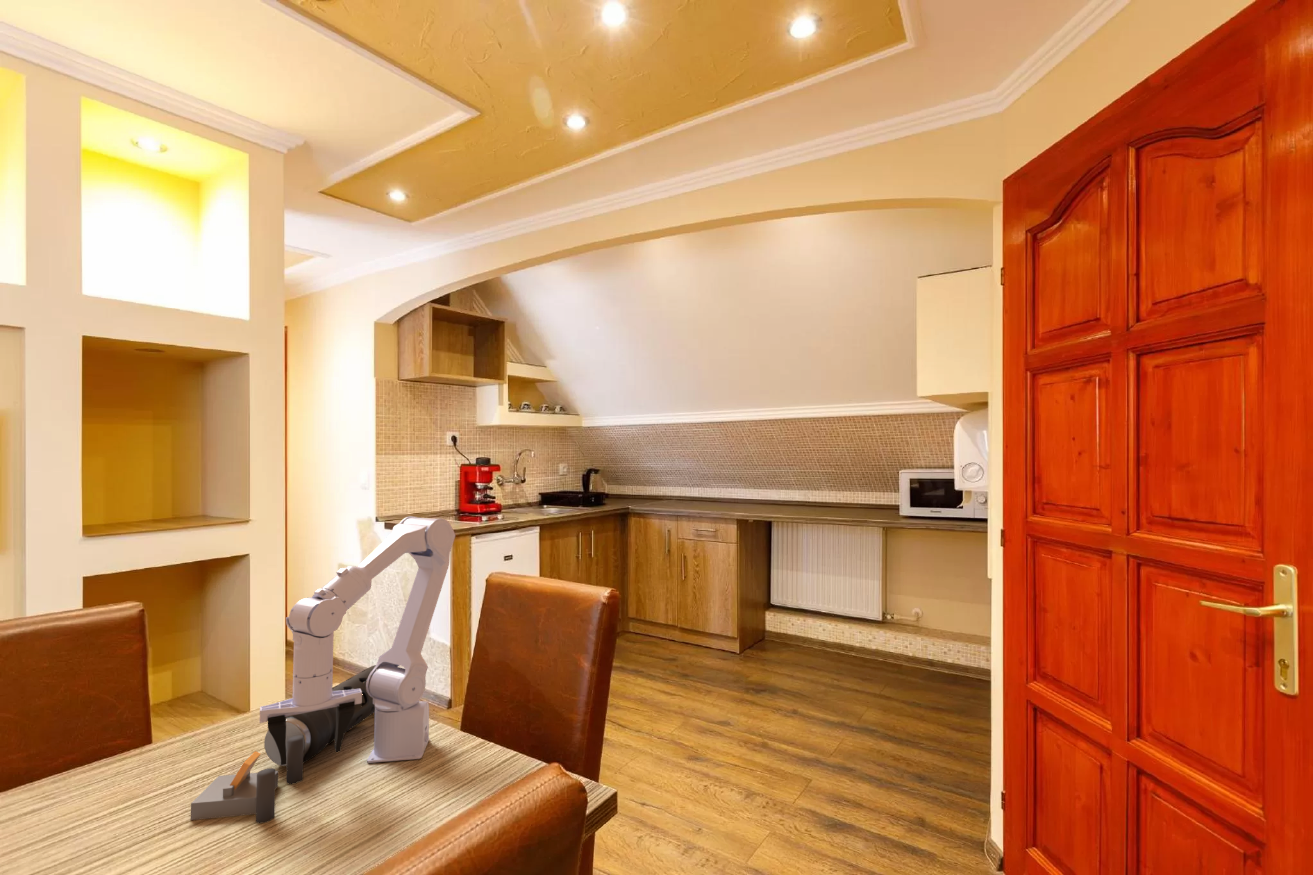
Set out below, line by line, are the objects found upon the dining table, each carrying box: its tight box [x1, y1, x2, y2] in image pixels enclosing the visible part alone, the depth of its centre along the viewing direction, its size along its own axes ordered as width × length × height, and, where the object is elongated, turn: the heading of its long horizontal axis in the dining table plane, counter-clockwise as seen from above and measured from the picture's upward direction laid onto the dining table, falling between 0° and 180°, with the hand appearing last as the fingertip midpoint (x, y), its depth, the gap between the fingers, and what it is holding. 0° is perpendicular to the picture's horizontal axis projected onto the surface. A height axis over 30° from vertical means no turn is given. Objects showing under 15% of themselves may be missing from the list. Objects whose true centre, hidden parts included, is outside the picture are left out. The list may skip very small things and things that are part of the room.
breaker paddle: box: [230, 750, 262, 790], centre depth 97 cm, size 1×4×4 cm
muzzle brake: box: [263, 664, 376, 767], centre depth 120 cm, size 10×28×10 cm
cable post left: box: [255, 767, 276, 824], centre depth 92 cm, size 2×2×7 cm
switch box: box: [190, 770, 279, 821], centre depth 97 cm, size 9×8×4 cm
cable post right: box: [285, 736, 304, 785], centre depth 103 cm, size 2×2×7 cm
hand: (311, 755), depth 99 cm, fingers open, 7 cm apart
